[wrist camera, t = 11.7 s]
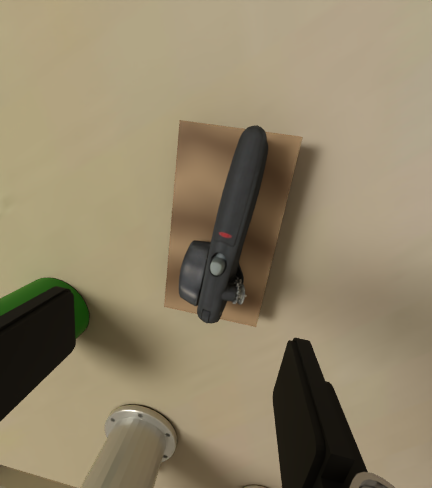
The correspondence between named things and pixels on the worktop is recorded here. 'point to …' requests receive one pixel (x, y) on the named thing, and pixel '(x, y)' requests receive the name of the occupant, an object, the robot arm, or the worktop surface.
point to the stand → (207, 203)
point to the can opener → (226, 234)
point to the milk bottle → (254, 486)
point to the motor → (39, 287)
